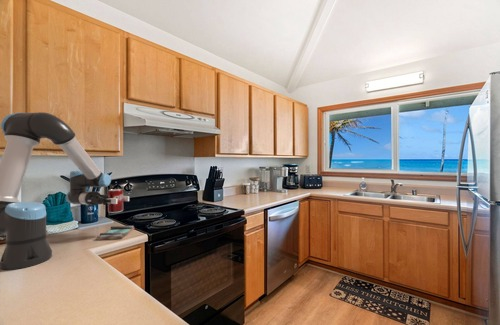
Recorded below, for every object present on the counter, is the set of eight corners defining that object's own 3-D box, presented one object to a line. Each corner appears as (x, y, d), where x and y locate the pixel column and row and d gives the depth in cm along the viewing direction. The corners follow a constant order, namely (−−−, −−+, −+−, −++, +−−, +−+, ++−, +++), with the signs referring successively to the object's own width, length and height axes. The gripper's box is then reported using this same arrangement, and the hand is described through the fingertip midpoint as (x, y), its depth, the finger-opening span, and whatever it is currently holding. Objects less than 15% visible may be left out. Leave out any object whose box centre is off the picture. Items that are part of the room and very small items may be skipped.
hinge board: (96, 240, 117) (96, 235, 117) (112, 229, 134) (112, 225, 134) (121, 239, 118) (121, 234, 118) (134, 228, 136) (134, 224, 136)
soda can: (126, 210, 130) (125, 189, 130) (117, 213, 122) (117, 190, 122) (114, 210, 130) (113, 188, 130) (104, 213, 123) (104, 190, 123)
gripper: (106, 201, 141) (136, 203, 135) (72, 208, 122) (106, 210, 115) (106, 189, 141) (136, 190, 135) (72, 194, 122) (106, 195, 115)
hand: (122, 200), depth 125 cm, fingers closed on soda can, 7 cm apart
